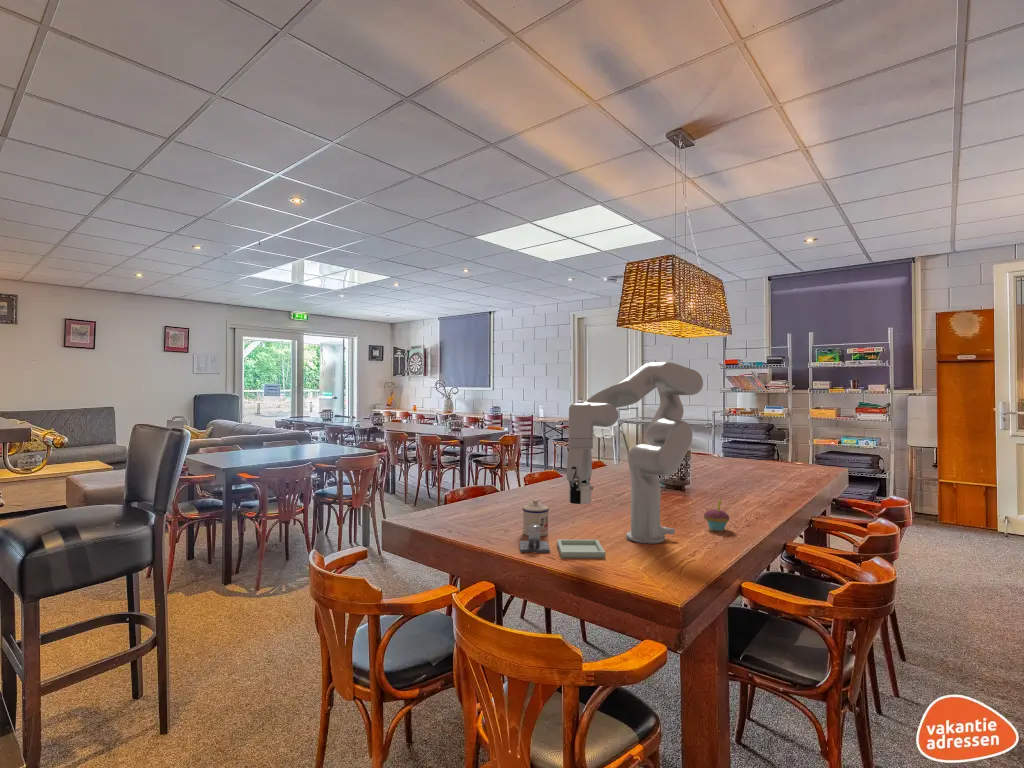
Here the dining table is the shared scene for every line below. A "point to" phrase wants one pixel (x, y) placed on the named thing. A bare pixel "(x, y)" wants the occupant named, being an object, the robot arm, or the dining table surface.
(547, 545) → the post stand
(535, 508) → the teacup with lid
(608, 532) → the dining table surface
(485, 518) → the dining table surface
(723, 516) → the cupcake
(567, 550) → the tray
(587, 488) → the white earbud case
